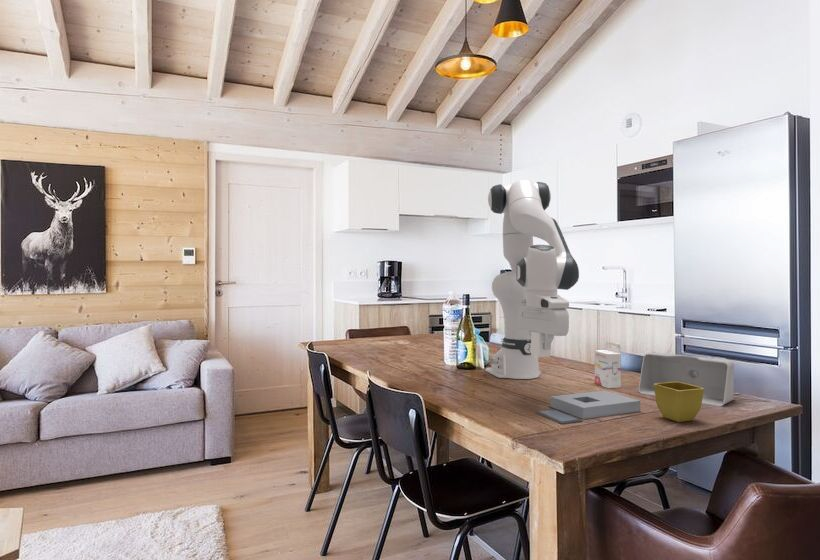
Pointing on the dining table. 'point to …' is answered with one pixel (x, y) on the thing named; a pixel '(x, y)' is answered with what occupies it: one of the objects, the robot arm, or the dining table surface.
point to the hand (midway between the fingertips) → (540, 348)
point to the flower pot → (678, 400)
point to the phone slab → (558, 416)
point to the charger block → (538, 345)
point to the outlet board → (594, 404)
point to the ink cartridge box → (608, 366)
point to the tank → (689, 375)
